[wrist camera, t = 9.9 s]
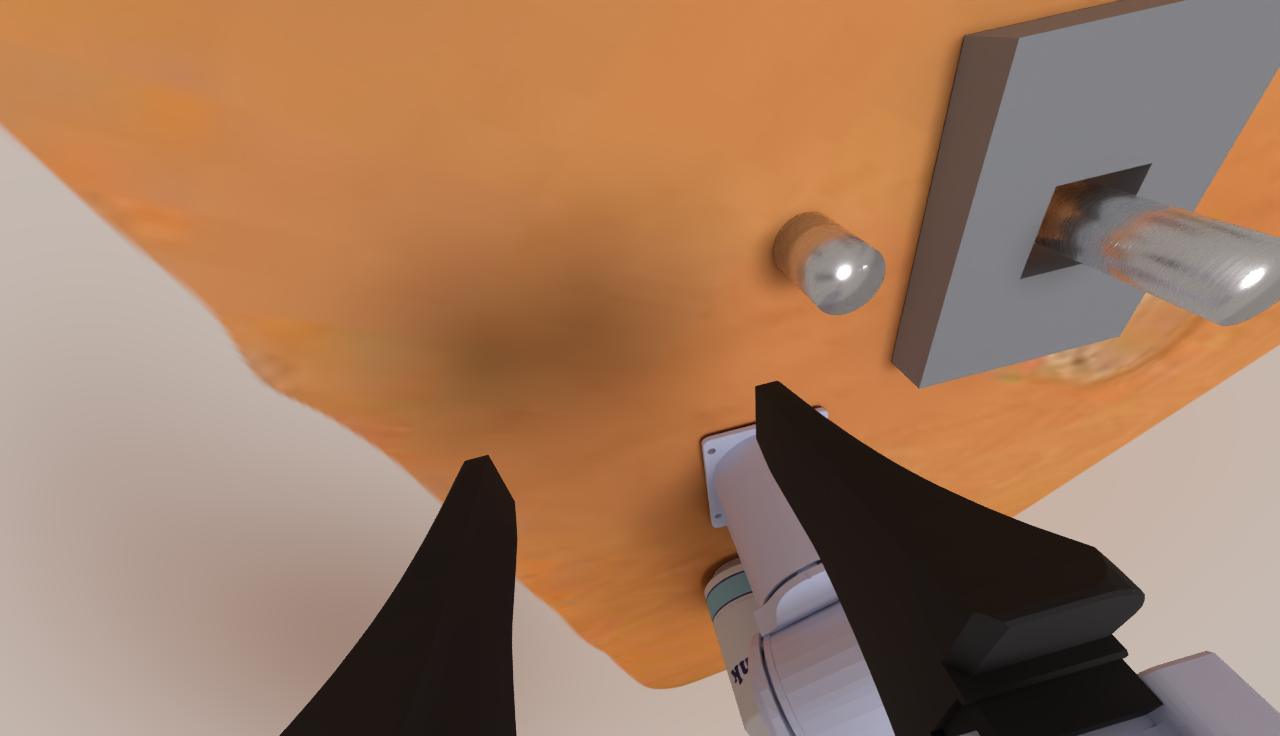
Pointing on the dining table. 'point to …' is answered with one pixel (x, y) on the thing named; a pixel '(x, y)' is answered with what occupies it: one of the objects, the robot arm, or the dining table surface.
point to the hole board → (1069, 167)
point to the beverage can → (736, 635)
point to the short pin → (828, 263)
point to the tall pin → (1165, 251)
